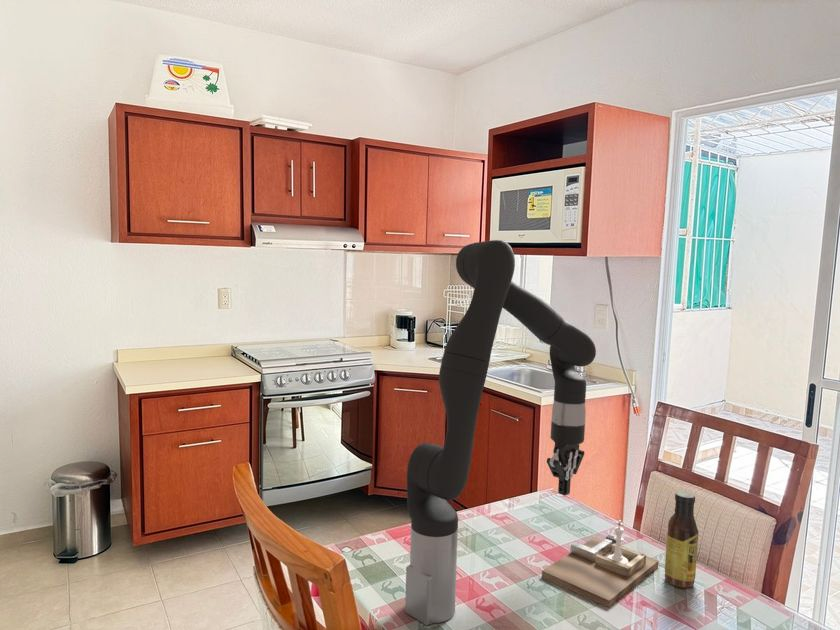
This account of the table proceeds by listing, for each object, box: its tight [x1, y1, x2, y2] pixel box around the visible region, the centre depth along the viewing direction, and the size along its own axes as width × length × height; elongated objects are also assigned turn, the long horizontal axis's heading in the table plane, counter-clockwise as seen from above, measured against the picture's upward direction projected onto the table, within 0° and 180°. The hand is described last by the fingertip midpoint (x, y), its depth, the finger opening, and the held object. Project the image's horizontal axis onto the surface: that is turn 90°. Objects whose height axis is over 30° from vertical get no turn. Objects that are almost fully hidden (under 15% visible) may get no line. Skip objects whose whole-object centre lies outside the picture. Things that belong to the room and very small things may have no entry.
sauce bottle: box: [664, 490, 699, 589], centre depth 132 cm, size 6×6×20 cm
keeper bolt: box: [569, 538, 613, 562], centre depth 142 cm, size 9×6×2 cm, turn 136°
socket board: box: [541, 534, 659, 608], centre depth 136 cm, size 24×16×4 cm, turn 135°
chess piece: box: [607, 519, 629, 565], centre depth 137 cm, size 5×5×10 cm
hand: (563, 493), depth 139 cm, fingers closed
